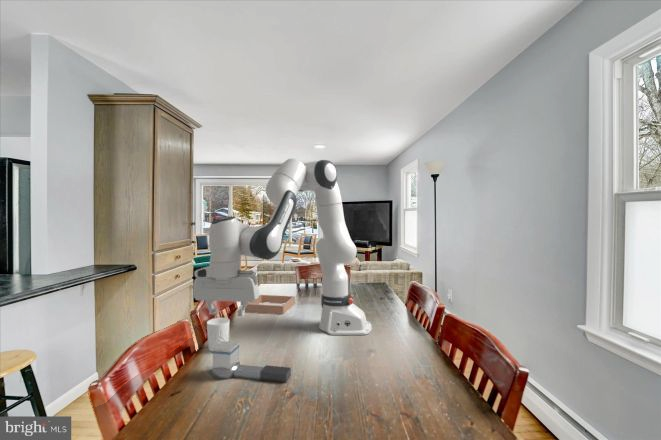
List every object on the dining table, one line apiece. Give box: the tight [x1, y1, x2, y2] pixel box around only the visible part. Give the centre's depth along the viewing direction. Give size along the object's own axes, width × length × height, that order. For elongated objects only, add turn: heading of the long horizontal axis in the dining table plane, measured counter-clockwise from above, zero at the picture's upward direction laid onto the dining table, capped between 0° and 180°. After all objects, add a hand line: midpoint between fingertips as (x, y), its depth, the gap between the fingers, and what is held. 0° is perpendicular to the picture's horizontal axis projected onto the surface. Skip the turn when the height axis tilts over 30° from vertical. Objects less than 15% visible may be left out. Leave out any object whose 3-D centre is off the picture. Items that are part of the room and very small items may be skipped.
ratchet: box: [211, 361, 292, 384], centre depth 96 cm, size 24×8×6 cm, turn 79°
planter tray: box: [245, 294, 296, 315], centre depth 166 cm, size 20×19×4 cm
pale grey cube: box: [211, 341, 240, 370], centre depth 98 cm, size 6×6×6 cm
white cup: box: [206, 317, 231, 353], centre depth 116 cm, size 8×8×10 cm
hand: (227, 315), depth 98 cm, fingers open, 8 cm apart
